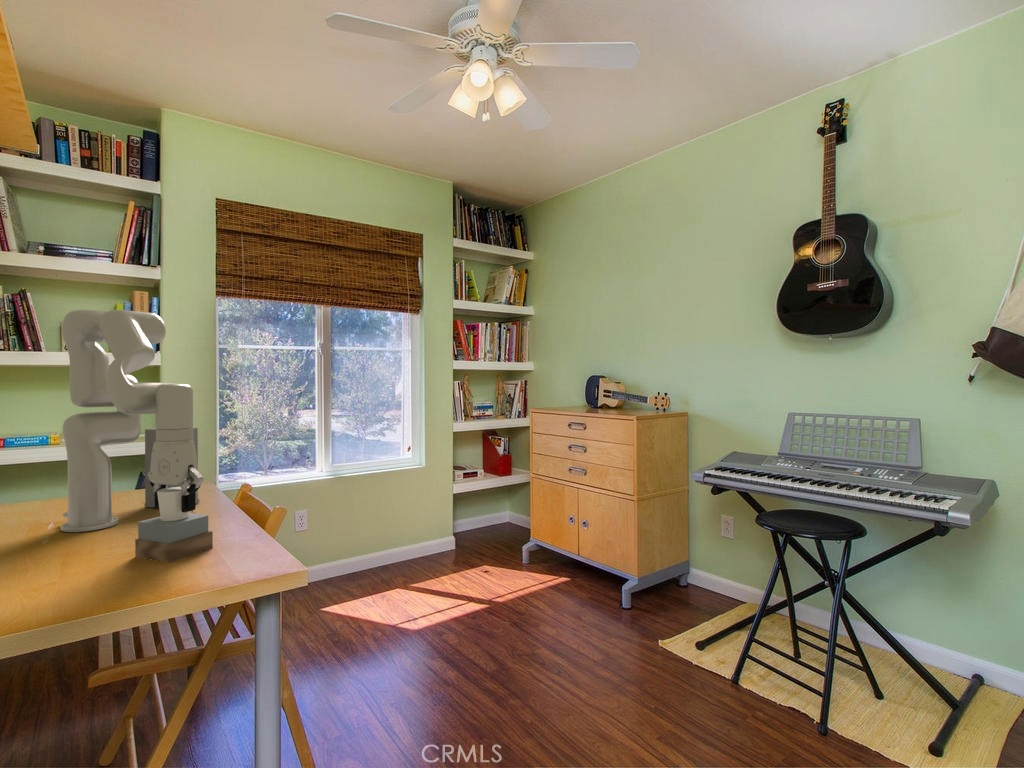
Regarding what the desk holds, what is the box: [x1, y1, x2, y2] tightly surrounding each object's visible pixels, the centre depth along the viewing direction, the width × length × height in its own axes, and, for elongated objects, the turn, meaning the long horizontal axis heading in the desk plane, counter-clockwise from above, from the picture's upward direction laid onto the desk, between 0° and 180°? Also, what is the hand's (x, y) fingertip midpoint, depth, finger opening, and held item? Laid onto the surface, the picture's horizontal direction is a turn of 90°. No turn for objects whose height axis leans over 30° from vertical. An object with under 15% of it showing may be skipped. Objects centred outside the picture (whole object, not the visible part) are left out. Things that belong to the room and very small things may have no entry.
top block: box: [137, 513, 209, 544], centre depth 125 cm, size 10×10×4 cm
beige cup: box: [157, 486, 190, 521], centre depth 125 cm, size 7×7×7 cm
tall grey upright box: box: [144, 427, 200, 508], centre depth 170 cm, size 14×6×25 cm, turn 93°
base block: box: [134, 530, 214, 564], centre depth 125 cm, size 11×11×4 cm
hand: (175, 509), depth 125 cm, fingers open, 8 cm apart
